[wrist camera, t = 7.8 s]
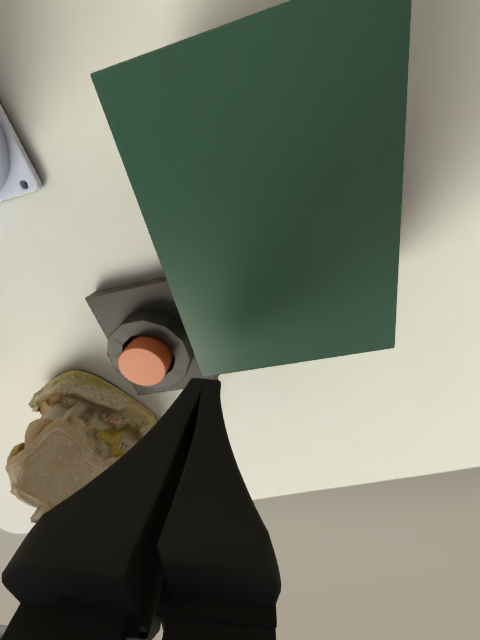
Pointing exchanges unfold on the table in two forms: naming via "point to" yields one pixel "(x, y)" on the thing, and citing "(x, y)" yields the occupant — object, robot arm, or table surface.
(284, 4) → the lid
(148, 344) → the button
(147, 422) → the ceramic model
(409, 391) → the table surface
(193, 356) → the switch block
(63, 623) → the robot arm
